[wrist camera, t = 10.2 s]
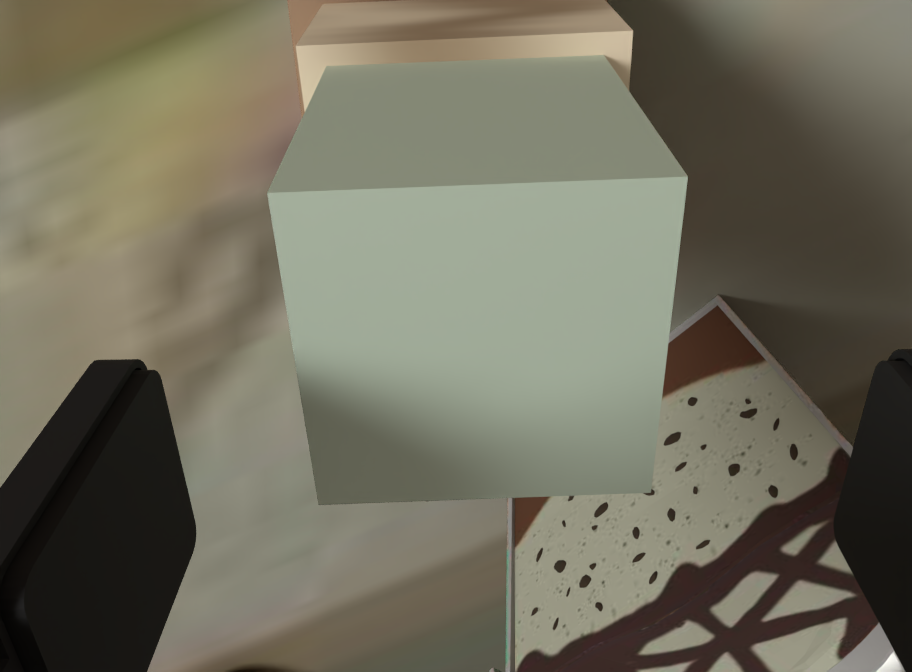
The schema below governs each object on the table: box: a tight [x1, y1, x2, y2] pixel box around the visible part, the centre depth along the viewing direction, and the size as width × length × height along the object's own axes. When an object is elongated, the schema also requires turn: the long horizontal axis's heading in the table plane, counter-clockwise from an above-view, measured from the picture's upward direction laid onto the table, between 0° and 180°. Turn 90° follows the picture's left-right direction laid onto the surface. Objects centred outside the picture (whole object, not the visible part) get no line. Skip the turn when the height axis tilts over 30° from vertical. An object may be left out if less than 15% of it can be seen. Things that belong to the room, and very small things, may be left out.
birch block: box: [296, 0, 633, 111], centre depth 18 cm, size 6×6×4 cm
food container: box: [489, 295, 894, 672], centre depth 25 cm, size 12×6×10 cm, turn 136°
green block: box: [267, 55, 688, 505], centre depth 14 cm, size 5×5×6 cm
